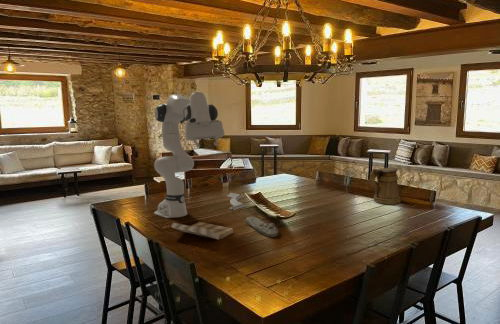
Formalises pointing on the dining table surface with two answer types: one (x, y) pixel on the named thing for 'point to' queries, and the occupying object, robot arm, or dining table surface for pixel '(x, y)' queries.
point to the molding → (235, 201)
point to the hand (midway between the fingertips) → (207, 146)
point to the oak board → (214, 229)
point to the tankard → (385, 186)
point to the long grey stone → (262, 226)
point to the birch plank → (195, 231)
